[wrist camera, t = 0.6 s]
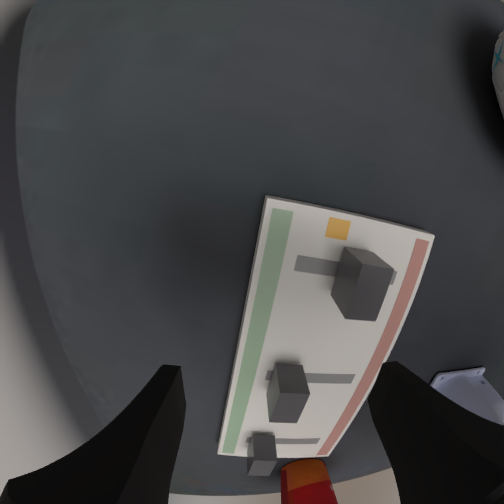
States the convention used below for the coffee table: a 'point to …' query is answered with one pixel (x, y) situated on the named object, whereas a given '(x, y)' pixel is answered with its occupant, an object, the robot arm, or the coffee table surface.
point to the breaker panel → (314, 323)
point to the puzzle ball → (499, 70)
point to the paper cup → (306, 483)
